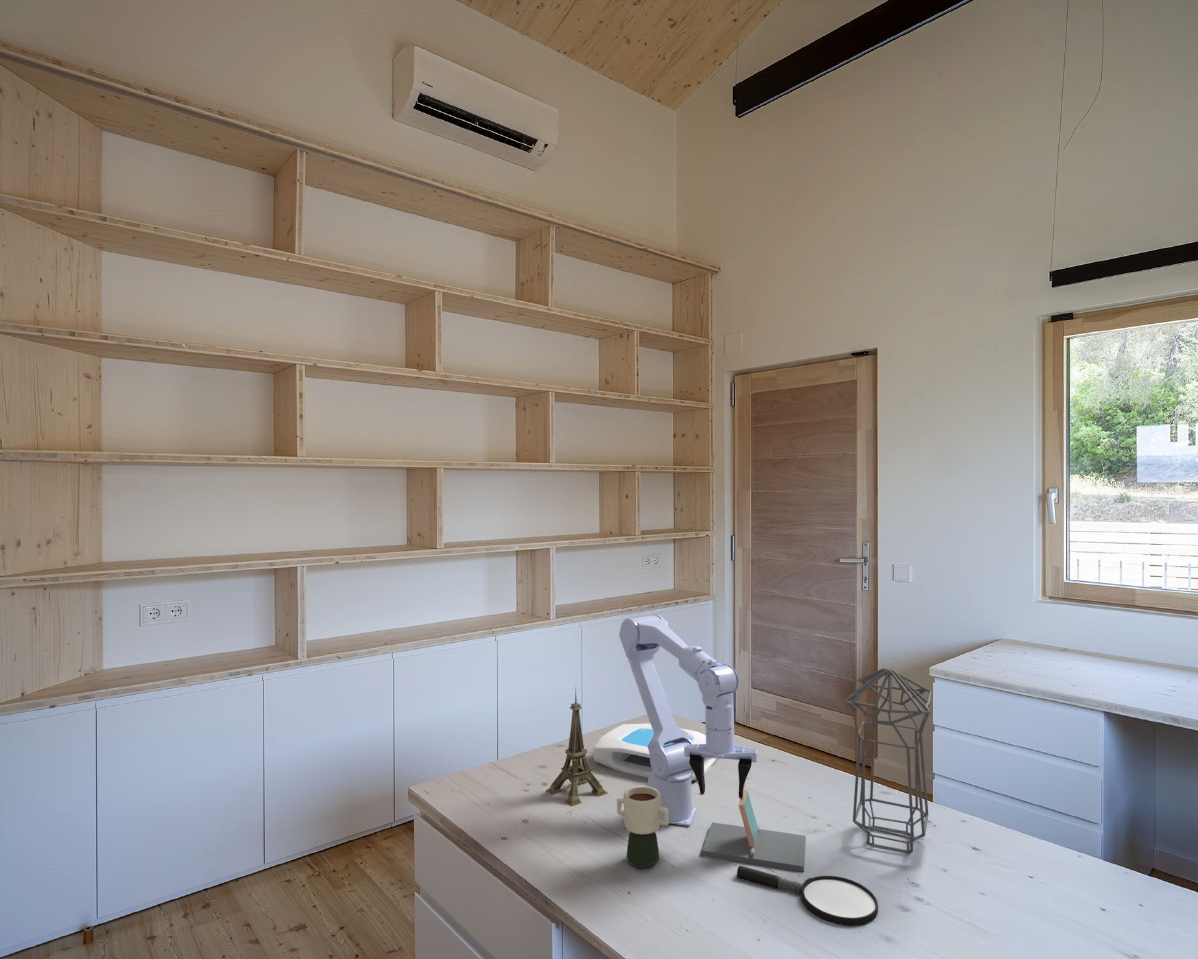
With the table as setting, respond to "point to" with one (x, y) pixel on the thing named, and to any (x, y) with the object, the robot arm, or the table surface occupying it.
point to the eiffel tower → (576, 764)
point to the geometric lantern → (855, 704)
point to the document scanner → (636, 748)
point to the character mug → (642, 823)
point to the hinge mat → (756, 847)
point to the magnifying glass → (824, 896)
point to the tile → (748, 818)
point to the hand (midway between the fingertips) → (721, 794)
